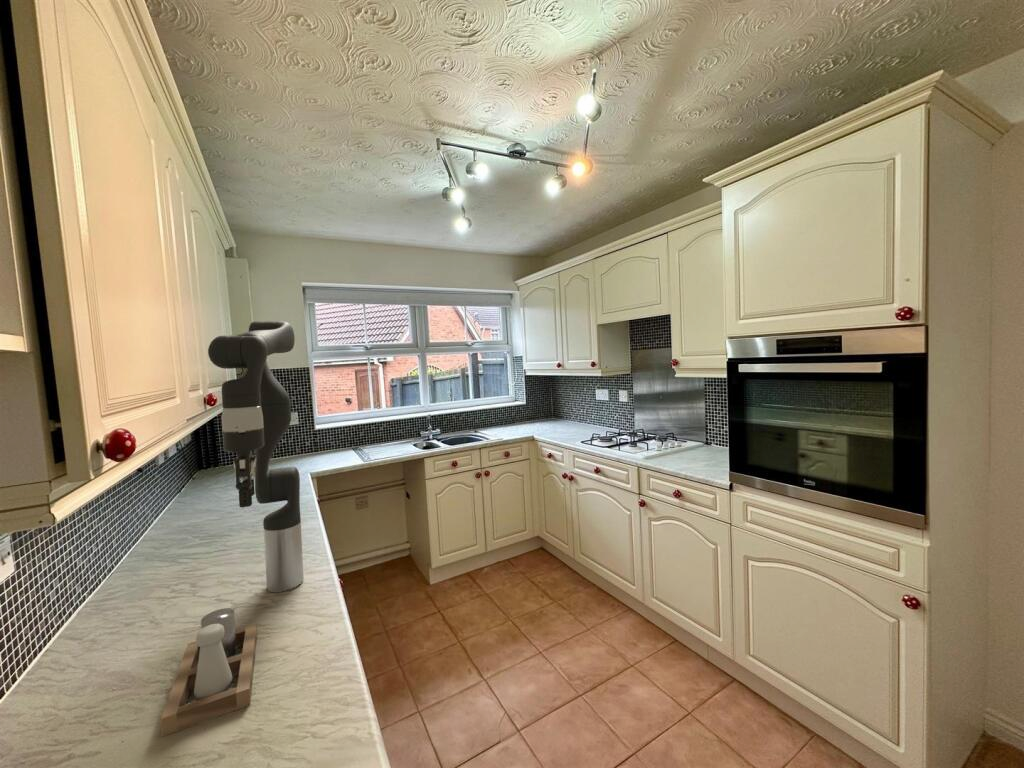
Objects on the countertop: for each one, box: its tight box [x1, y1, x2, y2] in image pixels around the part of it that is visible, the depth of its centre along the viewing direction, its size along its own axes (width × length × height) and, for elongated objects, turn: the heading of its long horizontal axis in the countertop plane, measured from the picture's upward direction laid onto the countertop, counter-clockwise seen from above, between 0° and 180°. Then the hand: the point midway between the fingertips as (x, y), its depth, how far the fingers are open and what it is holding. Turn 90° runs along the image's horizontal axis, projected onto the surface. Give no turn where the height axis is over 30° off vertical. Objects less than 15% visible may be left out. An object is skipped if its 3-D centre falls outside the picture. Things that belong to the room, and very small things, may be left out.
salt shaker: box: [193, 624, 233, 701], centre depth 76 cm, size 6×6×13 cm
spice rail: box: [160, 624, 258, 737], centre depth 81 cm, size 22×12×3 cm, turn 29°
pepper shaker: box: [200, 607, 238, 658], centre depth 85 cm, size 6×6×10 cm
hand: (247, 501), depth 90 cm, fingers open, 8 cm apart
